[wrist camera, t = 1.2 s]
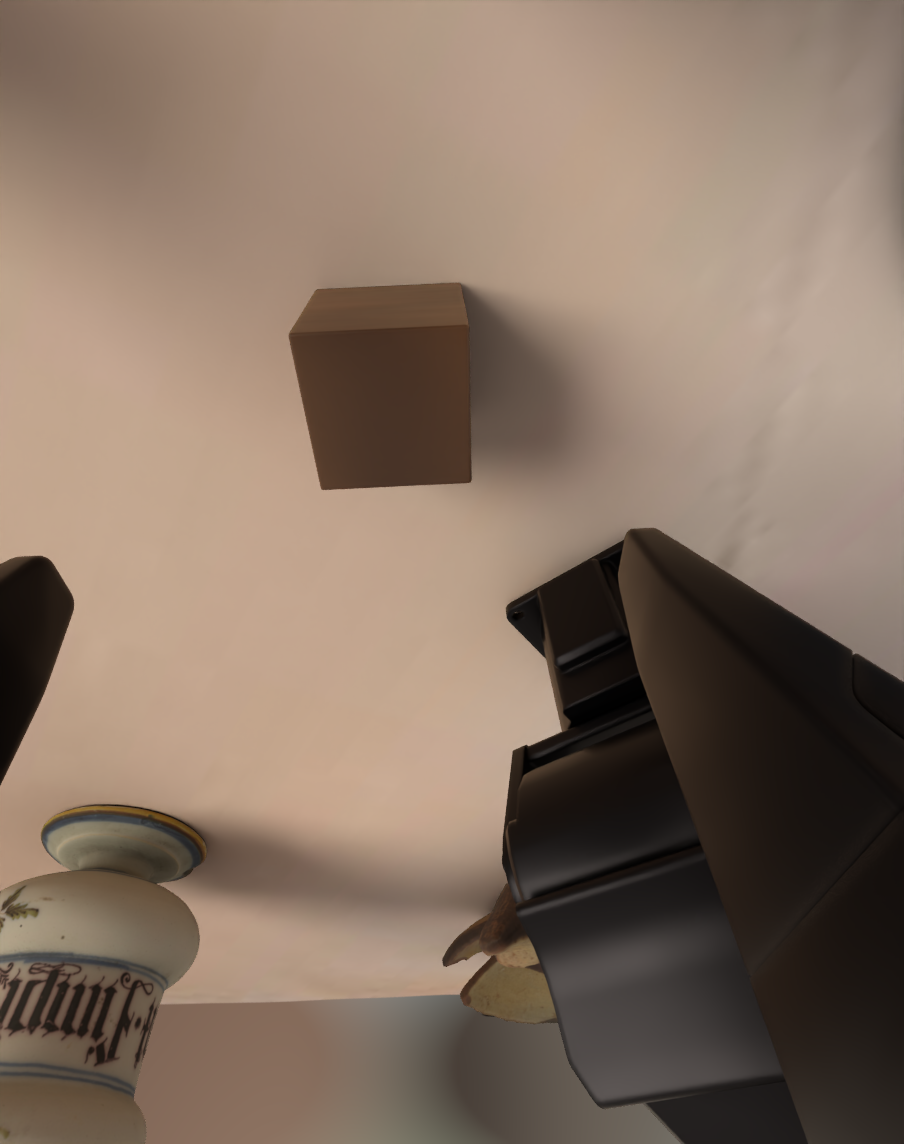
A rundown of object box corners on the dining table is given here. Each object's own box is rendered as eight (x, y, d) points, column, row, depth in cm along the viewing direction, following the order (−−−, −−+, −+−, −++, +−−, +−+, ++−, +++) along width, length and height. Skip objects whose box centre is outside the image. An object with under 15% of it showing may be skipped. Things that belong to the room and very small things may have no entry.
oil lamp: (461, 967, 55) (466, 1071, 49) (407, 818, 36) (403, 958, 30) (694, 948, 54) (727, 1052, 48) (765, 783, 35) (835, 922, 29)
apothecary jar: (193, 893, 42) (78, 1282, 28) (11, 859, 38) (-233, 1300, 24) (251, 824, 36) (139, 1281, 22) (41, 773, 31) (-268, 1305, 17)
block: (461, 281, 16) (469, 325, 13) (463, 419, 19) (472, 483, 16) (315, 288, 16) (287, 333, 13) (338, 425, 19) (320, 491, 16)
